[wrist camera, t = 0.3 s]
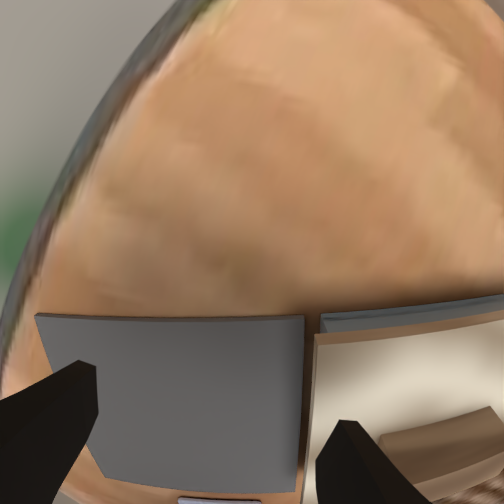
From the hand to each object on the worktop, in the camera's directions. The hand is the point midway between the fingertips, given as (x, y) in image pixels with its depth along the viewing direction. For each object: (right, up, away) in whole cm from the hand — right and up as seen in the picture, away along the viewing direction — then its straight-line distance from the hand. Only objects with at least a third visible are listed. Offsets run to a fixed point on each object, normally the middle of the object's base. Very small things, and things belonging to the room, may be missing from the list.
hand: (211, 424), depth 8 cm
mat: (-4, -8, +13) cm, 15 cm away
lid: (+12, -6, +8) cm, 16 cm away
